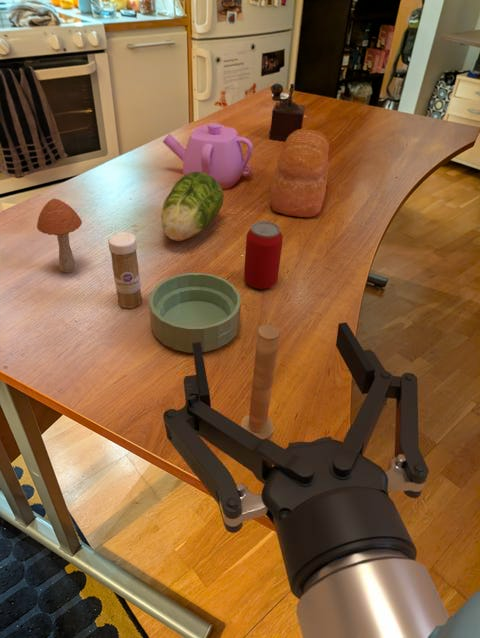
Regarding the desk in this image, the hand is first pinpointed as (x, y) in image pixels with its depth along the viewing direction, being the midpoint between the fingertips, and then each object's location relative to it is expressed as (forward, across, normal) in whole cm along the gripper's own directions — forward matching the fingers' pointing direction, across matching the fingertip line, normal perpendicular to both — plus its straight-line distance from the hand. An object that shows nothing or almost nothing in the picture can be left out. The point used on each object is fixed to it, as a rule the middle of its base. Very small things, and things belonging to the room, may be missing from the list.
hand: (270, 343), depth 43 cm
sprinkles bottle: (+41, -17, -21) cm, 49 cm away
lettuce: (+66, -3, -20) cm, 69 cm away
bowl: (+33, -6, -22) cm, 40 cm away
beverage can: (+45, +9, -22) cm, 51 cm away
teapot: (+96, +5, -18) cm, 98 cm away
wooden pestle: (+8, 0, -24) cm, 25 cm away
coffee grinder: (+125, +34, -18) cm, 131 cm away
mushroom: (+53, -29, -19) cm, 63 cm away
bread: (+82, +27, -21) cm, 89 cm away
